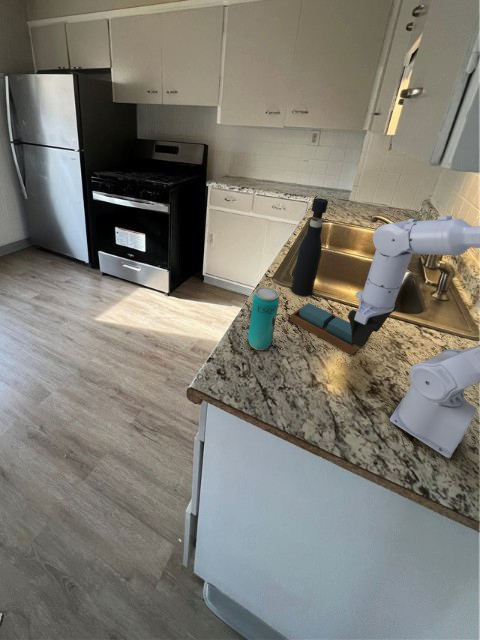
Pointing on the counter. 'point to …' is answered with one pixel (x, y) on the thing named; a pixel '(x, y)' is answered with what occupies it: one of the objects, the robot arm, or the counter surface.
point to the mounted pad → (315, 315)
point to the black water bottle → (309, 252)
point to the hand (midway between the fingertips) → (365, 336)
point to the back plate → (323, 333)
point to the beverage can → (263, 317)
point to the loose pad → (340, 329)
